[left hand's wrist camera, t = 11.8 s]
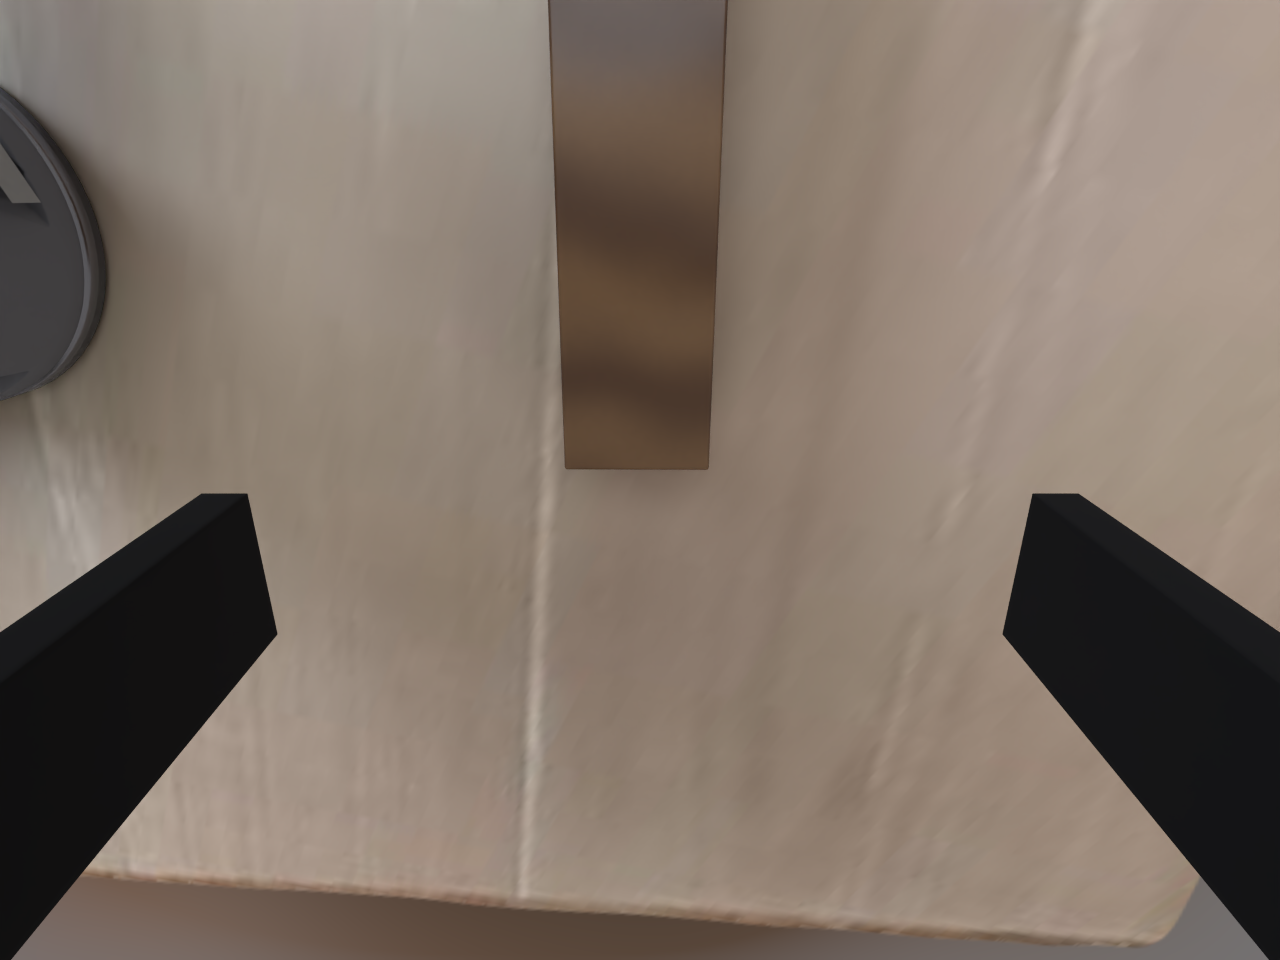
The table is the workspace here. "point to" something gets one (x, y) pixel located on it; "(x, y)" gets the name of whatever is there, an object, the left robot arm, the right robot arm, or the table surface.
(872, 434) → the table surface
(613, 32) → the bar
